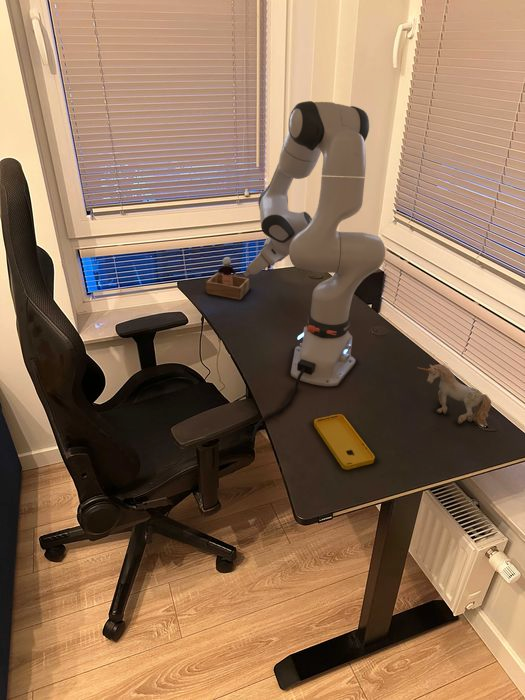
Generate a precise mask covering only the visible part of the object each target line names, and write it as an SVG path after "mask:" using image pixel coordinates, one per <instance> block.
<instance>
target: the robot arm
mask: <svg viewBox="0 0 525 700" xmlns="http://www.w3.org/2000/svg"><path fill="white" fill-rule="evenodd" d="M369 132H370V119H369V116H368V114H367V112H366V111H365V110H364V109H362V108H360V107H357V106H354V105H352V106H351V105H350V106H348V105H345V104H340V103H335V102H332V101H311V100H308V101H307V100H306V101H301V102H299V103H297V104H295V106H294V107H293V108H292V110H291V112H290V114H289V118H288V131H287V133H286V136H285V138H284V141H283V143H282V147H281V150H280V154H279V158H278V163H277V166H276V168H275V170H274V173H273V175H272V177H271V180H270V182H269V184H268V186H267V187H266V188H265V189H264V190H263V191H262V193H261V194H260V196H259V197H258V202H257V204H258V209H259V219H260V228H261V231H262V233H263V234H264V235H265V236H267V237H268V238H267V239H266V240H265V241H264V244H263V246H262V248H260V250H259V253H258V254H257V256H256V257H255V258H253V260H252V261H251V262H250V263H249V264H248V265H247V267H246V270H245V271H243V276H244V278H248V276H250V275H251V276H255V275H257V274H259V273H261V272H262V271H263V270H265V269H267V268H268V267H270V266H274V265H275V264H277V263H278V262H281V261H283V260H284V259H285V258H286V257H288V256H289V260H290V262H291V264H292V265H293V266H294V268H295V269H297V270H301V271H305V272H310V273H325V274H326V273H329V274H330V273H331V274H332V273H333V275H332V276H331V277H329V278H327V279H325V280H323V281H321V282H320V283H318V284H317V285H316V286H315V287H314V289H313V292H312V296H311V304H310V312H309V313H308V317H307V324H306V326H304V327H303V332H302V333H301V334H299V335H298V336H297V340H300V339H301V338H302V342H300V343H299V344H298V345H297V346H295V348H294V352H293V358H292V362H291V369H290V376H291V377H292V378H294V379H296V380H295V384H294V388H293V390H292V392H291V394H290V396H289V398H288V399H287V400H286V401H285V403H284V404H283V405H282V406H280V407H279V408H278V409H275V410H274V411H272V412H270V413H268V414H266V415H265V416H264V417H262V418H261V419H260V420H259V421H258V422H257V423H256V424H255V426H254V428H253V431H252V434H251V438H250V442H251V443H253V442H255V439H256V436H257V432H258V429H259V427H260V426H261V425H262V423H264V422H265V421H266V420H268V419H269V418H271V417H273V416H275V415H277V414H279V413H281V412H282V411H283V410H284V409H285V408H287V407H288V405H290V403H291V402H292V401H293V398H294V397H295V395H296V393H297V390H298V387H299V383H300V381H301V382H304V383H307V384H310V385H314V386H315V385H316V386H320V387H336V386H338V385H339V384H340V383H341V382H342V380H343V379H344V378H345V377H346V375H347V374H348V373H349V372H350V371H351V369H352V368H353V367H354V365H355V364H356V358H354V357H353V356H352V346H353V345H352V344H353V335H352V334H351V333H350V332H349V329H350V323H351V321H350V320H351V318H350V311H351V306H352V302H353V301H352V300H353V297H354V294H355V292H356V290H357V289H358V287H359V286H360V285H361V283H363V281H364V280H365V279H366V278H367V277H369V276H370V275H372V274H373V273H375V272H377V271H378V270H379V269H380V268H381V267H382V265H383V264H384V261H385V259H386V247H385V243H384V241H383V240H382V239H381V237H380V236H378V235H375V234H372V233H367V232H363V231H362V232H361V231H338V230H337V229H338V226H339V225H340V223H342V221H344V220H347V219H349V218H352V217H353V216H355V215H357V214H358V213H359V212H360V211H361V209H362V206H363V201H364V191H365V179H366V169H367V167H366V165H367V164H366V163H367V159H366V144H365V143H366V140H367V138H368V135H369ZM321 154H322V157H323V158H322V168H321V177H320V178H321V180H320V190H319V198H318V204H317V208H316V211H315V213H314V216H313V217H312V216H311V215H310V214H309V213H308V212H307V211H302V212H297V211H291V210H289V198H288V192H289V190H290V188H291V184H292V183H293V180H294V179H295V180H301V179H305V178H307V177H309V176H310V175H311V173H312V172H313V171H314V169H315V168H316V165H317V163H318V162H319V158H320V156H321Z"/></svg>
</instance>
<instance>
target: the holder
mask: <svg viewBox="0 0 525 700" xmlns="http://www.w3.org/2000/svg"><path fill="white" fill-rule="evenodd" d="M222 278H223V273H220V274H219V275H217V272H215V273H214V274H213V275H212V276H211V277H210V278H209V279H208V280H206V281H205V286H206V287H205V288H206V289H205V291H206V294H207V295H213V296H219V297H225V298H229V299H233V300H242V299H243V297H244V296H245V295H246V294H247V293H248V292H249V290H250V281H251V280H250V278H249V277H245V276H238V275H237V278H235V277H234V274H232V280H233V286H230V285H225V284H223V282H222Z"/></svg>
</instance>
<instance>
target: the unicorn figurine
mask: <svg viewBox="0 0 525 700" xmlns="http://www.w3.org/2000/svg"><path fill="white" fill-rule="evenodd" d="M417 369H418V370H420V371H424V372H428V377H427V379H426V381H427V383H428V384H430V385H431V384H433V383H434V381H435V379H437V378H439V379H440V381H439V383H438V387H439V390H438V392H437V395H438V402H439V404H440V406H441V407H439V408H438V409H436V412H437V413H438V414H441V413H443V414H445V415H446V414H447V411H448V406H447V401H448V400H447V397H448V396H449V397H450V398H451V399H452V400H455V401H458V402H463V404H464V406H465V409H466V413H463V414H460V415H459V416H458V418H457V424H462V423H463V422H464V421H467V422H469V423H470V422H471V423H472V421H473V422H477V423H476V424H477V425H478V426H479V427H480V426H484V427H487V426H488V424H489V423H487V420H486V419H487V418H489V412H490V409H491V408H492V400H491V399H490V397H489V396H488V395H487V394H484V393H482V391H480V390H479V389H478V388H475V387H471V386H468V385H464V384H462V383H461V382H460V381H458V380H457V379H456V376H455V374H454V373H453V372H452V370H451V369H450V368H449V367H447V366H446V365H445V364H440V363H439V364H434V365H432V364H431V363H430V364H429V368H425V367H417ZM480 403H481V405H480ZM479 405H480V406H479ZM473 410H474V413H473Z"/></svg>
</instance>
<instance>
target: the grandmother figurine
mask: <svg viewBox="0 0 525 700" xmlns="http://www.w3.org/2000/svg"><path fill="white" fill-rule="evenodd" d="M221 264H222V265H224V266H220V267H219V268H218V270H217V272H216V273H217V275H219V274H220V273H221V274H223V278H222V282H223V284H225V285H230V286H233V280H232V275H233V276H234V277H235V278H237V276H238V275H237V272H236V270H235V269H234V268H233V267H232V266H231V264H232V259H231V257H230V256H225V257H223V259H222V262H221Z"/></svg>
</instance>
